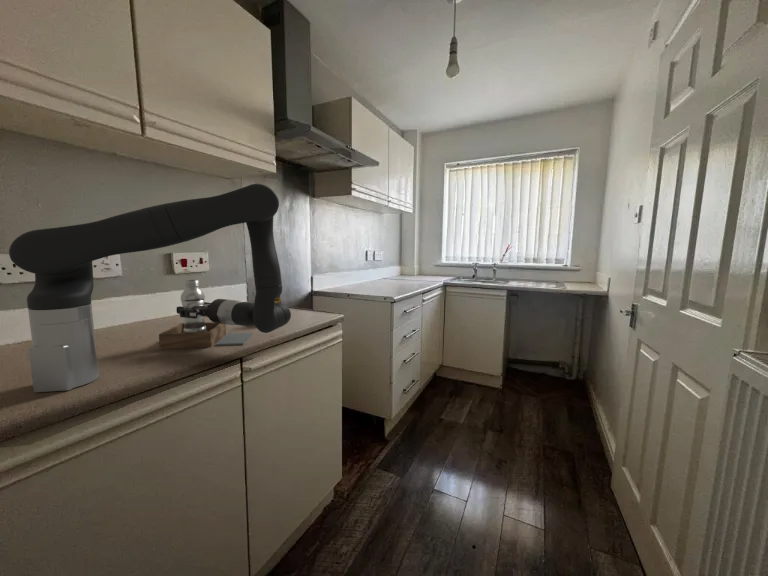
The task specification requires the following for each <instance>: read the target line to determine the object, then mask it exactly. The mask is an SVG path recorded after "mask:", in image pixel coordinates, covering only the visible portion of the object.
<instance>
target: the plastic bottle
mask: <svg viewBox="0 0 768 576" xmlns="http://www.w3.org/2000/svg"><path fill="white" fill-rule="evenodd" d="M184 283H185V284H184V285H185V289H184V290H183V292H182V293H181V294H180V302H181V307H193V306H195V305H204V302H205V299H206V298H205V297H206V296H205V294H204V292H203V291H202V289H201V288H200V287H199V286H200V280H199V279H186V280H184ZM196 309H197V311H199V308H196ZM183 319H184V321H183V323H184V330H183V333H192V332H207V329H206V326H205V322H206V320H205V317H197V318H196V319H193V318H184V317H183Z"/></svg>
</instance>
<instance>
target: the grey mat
mask: <svg viewBox="0 0 768 576" xmlns="http://www.w3.org/2000/svg"><path fill="white" fill-rule="evenodd" d="M252 336H253V332H235V333H233V332H231V333H230V332H229V333H226V335H225V336H224V337H222V338H221V339H220V340H219V341H218V342H216V343H215V347H221V346H223V347H224V346H243V345H245V343H246V342H247V341H248V340H249V339H250V337H252Z"/></svg>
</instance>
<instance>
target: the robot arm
mask: <svg viewBox="0 0 768 576" xmlns="http://www.w3.org/2000/svg"><path fill="white" fill-rule="evenodd" d="M279 206H280V200H279V197H278V194H277V193H276V192H275V190H273V189H272V188H271V187H270V186H268V185H265V184H261V183H253V184H252V183H251V184H250V185H246V186H244V187H241V188H237V189H235V190H232V191H228V192H225V193H223V194H219V195H214V196H210V197H208V196H207V197H199V198H193V199H192V198H190V199H184V200H179V201H173V202H168V203H167V202H166V203H162V204H157V205H153V206H148V207H144V208H140V209H137V210H132V211H128V212H124V213H121V214H117V215H114V216H110V217H107V218H105V219H104V218H103V219H100V220H96V221H93V222H92V221H91V222H86V223H80V224H73V225H65V226H59V227H51V228H50V227H49V228H42V229H34V230H30V231H27V232H24V233H22V234H21V235H19V236H18V237H16V238H14V240H13V241H12V242H11V243H10V246H9V249H8V256H9V258H10V260H11V262H12V263H13V264H14V265H15V266H16V267H18V268H19V269H21V270H23V271H26V272H28V273H31V274H34V278H35V281H34V286H33V288H32V290H31V291H30V292H29V293H28V295H27V296H26V304H27V311H28V319H29V327H30V336H31V344H32V345H31V346H30V347H29V348H28V356H29V365H30V372H31V379H32V387H33V393H45V392H46V393H47V392H48V393H50V392H64V391H70V390H72V389H75V388H77V387H81V386H84V385H86V384H87V385H88V384H90V383H92V382H94V381H96V380H97V379H98V378H99V376H100V375H99V365H98V355H97V347H96V346H97V345H96V338H95V337H96V334H95V329H94V328H95V326H94V317H93V316H94V314H93V306H92V293H93V292H94V291H93V290H94V269H93V268H94V267H93V262H94V261H97V260H100V259H103V258H104V259H105V258H107V257H110V256H115V255H121V254H123V255H124V254H129V253H130V254H131V253H137V252H145V251H151V250H156V249H163V248H165V247H170V246H171V247H172V246H174V245H178V244H181V243H182V244H183V243H185V242H189V241H192V240H195V239H198V238H200V237H203V236H206V235H209V234H211V233H213V232H216V231H217V230H220V229H223V228H227V227H231V226H235V225H239V224H240V225H241V224H246V227H247V231H248V236H249V241H250V242H249V243H250V248H251V260H252V261H251V262H252V271H253V280H254V287H255V297H254V302H246V301H240V300H236V299H224V298H216V299H214V300H213V301H211V302H205V301H204V305H195V306H193V307H183V306H182V305H181V306H176V308H175V309H176V310H175V311H176V314H178V315H179V318H183V319H184V318H193V319H196V318H197V317H204V318H208V319H209V321H211V322H214V323H220V324H226V326H227V325H228V326H241V327H256V329H257V330H258V331H259V332H261V333H264V334H268V333H272V332H273V331H275V330H277V329H279V328H282V327H283V326H285V325H287V324H288V323H290V320H291V318H292V312H291V310H290V308H289V307H288V306H287V305H286V304H284V303H282V302H281V303H278V302H275V300H276V298H277V297H278V296H280V297H281V295H282V293H283V282H282V281H283V280H282V275H281V273H282V272H281V267H280V262H279V257H278V253H277V249H276V244H275V238H274V216H276V215H277V213H278V210H279ZM196 308H199V311H197V309H196Z"/></svg>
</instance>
